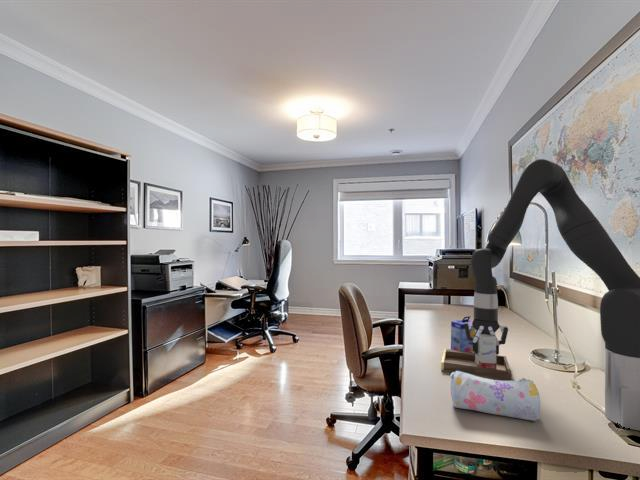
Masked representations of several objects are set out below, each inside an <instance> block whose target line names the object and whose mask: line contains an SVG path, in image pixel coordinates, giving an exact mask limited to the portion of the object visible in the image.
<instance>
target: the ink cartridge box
mask: <svg viewBox="0 0 640 480" xmlns="http://www.w3.org/2000/svg"><path fill="white" fill-rule="evenodd" d="M465 322H468V323H470V322H473V320H472V319H471V315H469V316H464V317H463V318H462V319H459V320H458V319H456V320H453V321H451V322H450V327H451V328H450V350H458V351H466V352H473V353H474V351H473V343H472V341H470V340H467V336H466V331H465V326H464V323H465ZM475 330H476V329H475V328H474V326H471V329H469V331H470V335H471V337H474V335H475Z"/></svg>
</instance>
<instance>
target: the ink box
mask: <svg viewBox="0 0 640 480" xmlns="http://www.w3.org/2000/svg"><path fill="white" fill-rule="evenodd" d="M475 332H476V330H475ZM496 337H497V336H496ZM496 337H495V336H494V335H493V336H491V335H488V334H479V338H478V340H477V353H475V362H476V364H477V365H478V366H479V367H483V368H490V369H496Z"/></svg>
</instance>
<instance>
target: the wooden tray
mask: <svg viewBox="0 0 640 480" xmlns="http://www.w3.org/2000/svg"><path fill="white" fill-rule="evenodd" d="M508 361H509V360H508V358H507V356H505V355H499V354H498V355H497V356H496V369H490V368H483V367H479V366H478V365H477V364H476V362H475V352H466V351H458V350H451V348H450V349H449V348H443V353H442V358H441V362H440V364H441V365H440V366H441V368H440V371H441V372H442V373H443V372H444V373H450V374H451V373H453V372H455V371H461V372H465V373H468V374H471V375H474V376H478V377H482V378H486V379H491V380H494V379H495V380H498V381H512V369H511V367H510V364H509V362H508Z"/></svg>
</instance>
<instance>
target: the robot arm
mask: <svg viewBox="0 0 640 480" xmlns="http://www.w3.org/2000/svg"><path fill="white" fill-rule="evenodd" d="M539 193H540V194H541V195H542V197H544V199H545V200H546V202H547V203H548V204H549V206H550V207H551V209H552V211H553V213H554V219H555V222H556V227H557V229H558V233H560V235H561V238H562V239H563V241H564V242H565V244H566V246H567V247H568V248H569V250H570V251H571V252H572V254H573V255H574V256H575V257H577V258H578V259H579V260H580V261H581V262H582V263H583V264H585V265H586V267H588V268H589V269H591V270H592V271H593V272H594V273H595V274H596V275H597V276H598V277H599V279H600V280H601V281H602V282H603V284H604V285H605V287H606V289H607V290H608V291H607V292H606V293H604V295H602V298H601V300H600V304H599V315H600V316H599V317H600V332H601V337H602V339H603V342H604V415H605V417H606V418H607V419H609V421H611V422H613V423H615V424H617V423H618V424H617V425H619V424H620V425H621V426H622V427H621V426H620V425H619V426H620V427H621V428H623V427H625V428H624V429H628V428H630V429H629V430H634V431H640V276H639V275H638V274H637V272H636V271H635V270H634V269H633V268H632V266H630V264H629V263H628V262H627V260H626V258H625V257H624V255H623V254H622V253H621V251H620V249H619V248H618V247H617V245H616V244H615V242H614V241H613V239H612V238H611V237H610V234H609V233H608V232H607V231H606V229H605V227H603V225H602V223H601V222H600V221H599V220H598V218H597V216H595V214H594V213H593V212H592V210H591V209H590V208H589V207H588V206H587V204H586V203H585V202H584V201H583V200H582V198H580V196H579V195H578V193H577V192H576V190H575V188H574V187H573V184H572V183H571V181H570V180H569V177H568V175H567V172H565V170H564V169H563V167H562V166H561V165H559V164H557V163H555V162H552V161H550V160H548V159H543V158H538V159H535V160H532V161H530V163H528V164H527V165H526V166H525V168H523V171H522V172H521V175H520V177H519V178H518V180H517V183H516V186H515V188H514V189H513V192H512V194H511V195H510V196H511V197H510V198H509V200H508V203H507V205H506V206H505V208H504V210H503V212H502V213H501V215H500V217H499V219H498V220H497V221H496V223H495V225H494V226H493V228H492V229H491V231H490V232H489V234H488V236H487V241H488V242H487V245H486V246H485V248H478V249H475V250H474V251H473V252H472V254H471V256H470V257H471V258H470V267H471V272H472V274H473V275H472V276H473V279H474V294H473V320H472V321H473V322H470V323H468V322H465V323H464V326H465V331H466V336H467V340H470V341H472V343H473V351H474V352H475V353H477V340H478V338H479V334H488V335H491V336H493V335H494V336H495V337H496V356H497V355H499V354H500V346H501V345H505V344H506V341H507V336H508V331H509V327H508V326H507V325H501V324H499V317H498V316H499V314H498V313H499V299H498V281H497V278H496V277H495V276H493V271H492V270H493V269H494V268H496V267H497V266H499V264H500V263H501V262H502V260H503V258H504V256H505V254H506V252H507V249H508V247H509V245H510V244H511V243H512V241H513V240H514V239H515V238H516V236H517V234H518V233H519V231H520V230H521V227H522V225H523V222H524V219H525V216H526V213H527V210H528V208H529V206H530V204H531V202H532V201H533V199H534V198H535V197H536V196H537V195H538V194H539ZM471 326H474V328H475V329H476V332H475V335H474V337H471V335H470V331H469V329H471ZM497 330H500V332H501V335H500V336H501V338H500V339H498V338H497V335H496V332H497ZM474 352H473V353H474Z"/></svg>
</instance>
